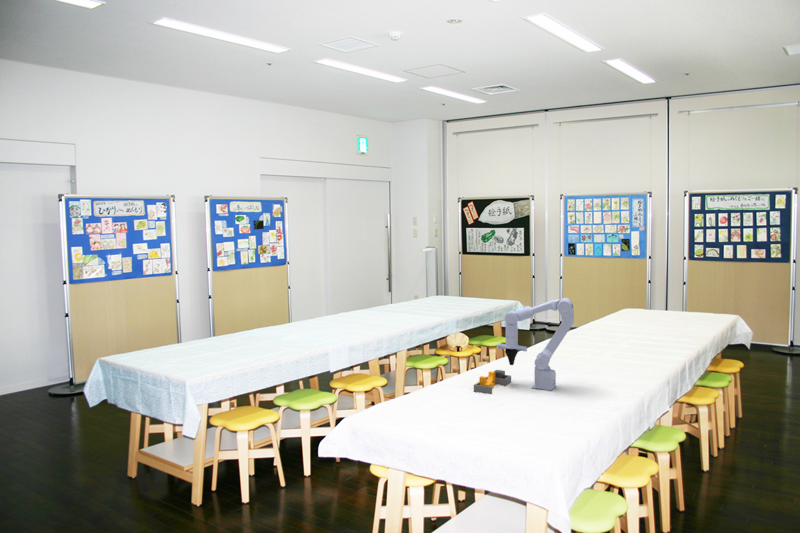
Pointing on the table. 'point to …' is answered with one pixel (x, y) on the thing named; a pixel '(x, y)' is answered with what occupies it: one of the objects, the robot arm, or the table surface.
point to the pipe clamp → (488, 380)
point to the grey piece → (499, 380)
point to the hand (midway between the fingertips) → (511, 364)
